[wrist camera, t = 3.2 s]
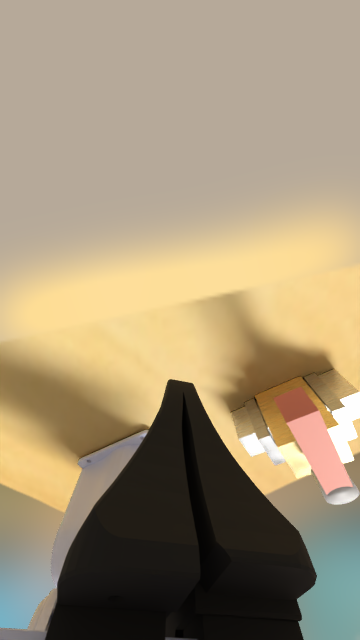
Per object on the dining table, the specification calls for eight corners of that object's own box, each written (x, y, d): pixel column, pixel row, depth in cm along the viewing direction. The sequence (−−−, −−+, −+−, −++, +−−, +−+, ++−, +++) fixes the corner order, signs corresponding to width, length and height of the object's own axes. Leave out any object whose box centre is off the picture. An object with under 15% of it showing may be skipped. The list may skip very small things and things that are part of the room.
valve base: (245, 433, 22) (266, 497, 17) (227, 407, 20) (244, 468, 15) (344, 395, 20) (402, 455, 14) (332, 362, 18) (392, 416, 13)
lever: (343, 471, 14) (362, 498, 13) (315, 480, 15) (330, 507, 13) (304, 385, 11) (323, 408, 10) (269, 399, 12) (282, 424, 10)
